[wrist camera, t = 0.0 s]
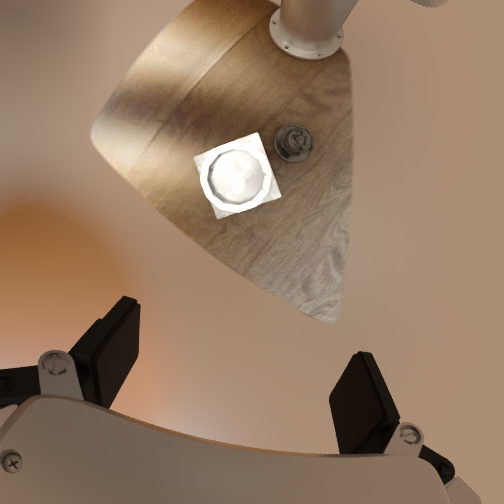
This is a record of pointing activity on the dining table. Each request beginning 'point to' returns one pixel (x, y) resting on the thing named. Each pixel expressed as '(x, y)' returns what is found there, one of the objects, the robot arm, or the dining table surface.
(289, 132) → the salt shaker
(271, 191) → the hub plate
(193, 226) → the dining table surface
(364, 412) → the robot arm
